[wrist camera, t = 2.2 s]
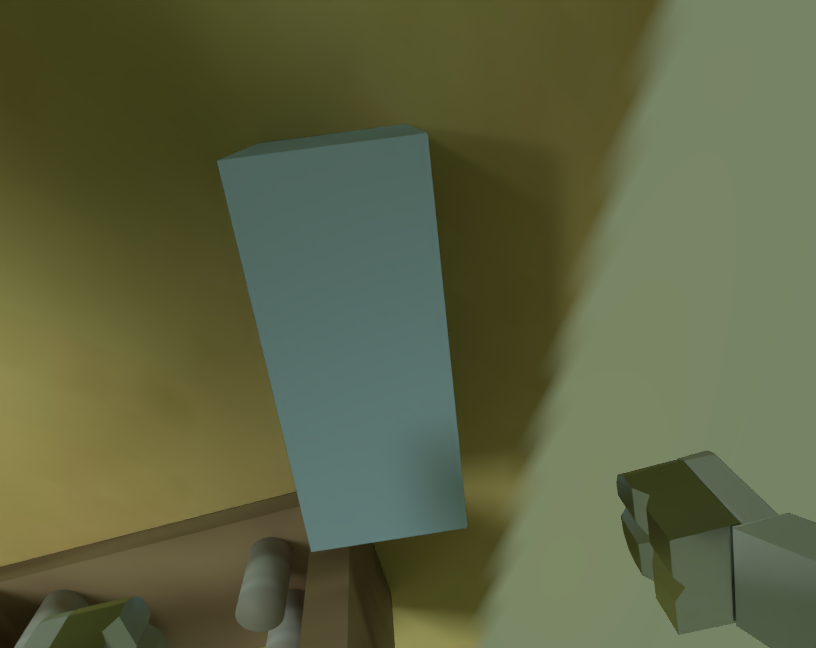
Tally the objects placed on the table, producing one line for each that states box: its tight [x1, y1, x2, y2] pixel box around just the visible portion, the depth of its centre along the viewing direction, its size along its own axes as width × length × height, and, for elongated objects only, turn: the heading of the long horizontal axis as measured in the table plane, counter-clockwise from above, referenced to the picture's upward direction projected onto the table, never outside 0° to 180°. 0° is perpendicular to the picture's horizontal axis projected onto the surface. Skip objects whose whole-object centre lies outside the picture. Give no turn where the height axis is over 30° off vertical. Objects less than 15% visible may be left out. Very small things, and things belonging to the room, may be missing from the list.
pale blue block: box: [217, 124, 468, 552], centre depth 18 cm, size 12×5×6 cm, turn 7°
